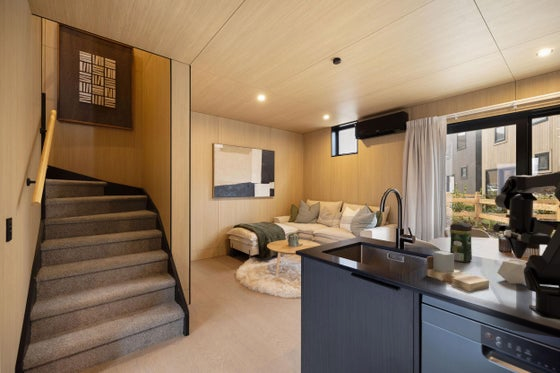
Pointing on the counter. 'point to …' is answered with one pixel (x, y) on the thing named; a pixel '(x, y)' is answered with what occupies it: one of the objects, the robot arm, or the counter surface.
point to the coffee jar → (461, 241)
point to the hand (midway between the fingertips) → (518, 258)
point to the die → (512, 272)
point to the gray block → (443, 261)
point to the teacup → (519, 262)
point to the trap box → (457, 278)
